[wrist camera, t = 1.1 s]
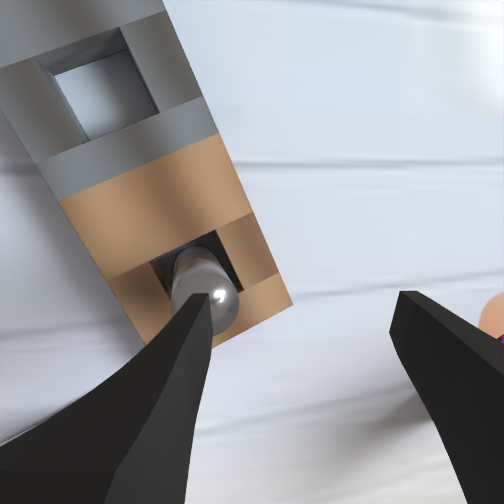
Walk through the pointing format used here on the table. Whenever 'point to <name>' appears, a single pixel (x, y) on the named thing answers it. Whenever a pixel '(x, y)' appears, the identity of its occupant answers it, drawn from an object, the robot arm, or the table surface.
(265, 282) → the dock board
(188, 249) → the pin
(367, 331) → the table surface
